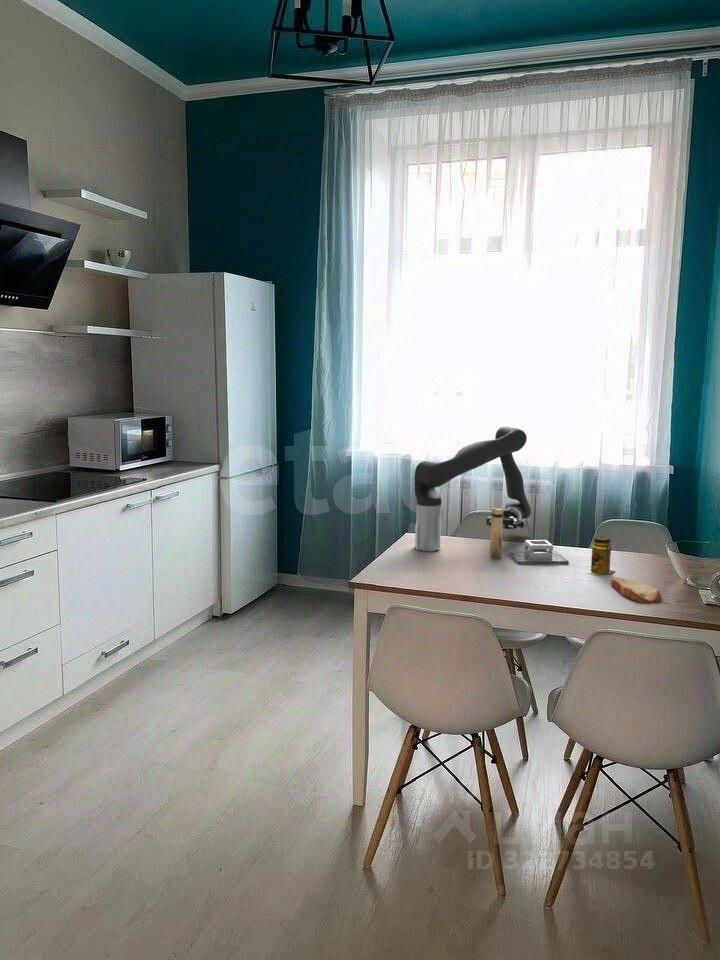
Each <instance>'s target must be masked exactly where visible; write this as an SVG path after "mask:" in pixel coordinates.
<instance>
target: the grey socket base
mask: <svg viewBox="0 0 720 960" xmlns="http://www.w3.org/2000/svg"><path fill="white" fill-rule="evenodd" d="M523 548H524V550H522V551H520V550H519V551H518V550H517V551H514V550H512V551H510V550H509V551H508V556H509V557H510V558H511V557H512V558H513V559H514V560H513V559H512V560H513V561H514V562H515V561H516V562H515V563H516V565H550V564H570V563H569V562H570V561H569V560H568V559H567V558H565V557H564V556H563V555H562V554H561V553H560V552H558V551H554V545H553V544H552V543H551V542H549V541H548V540H547V539H525V540H524V547H523Z"/></svg>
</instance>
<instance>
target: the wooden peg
mask: <svg viewBox="0 0 720 960" xmlns="http://www.w3.org/2000/svg"><path fill="white" fill-rule="evenodd" d="M503 511H504V509H503V508H499V507H493V508H491V513H490V516H492V517H491V527H490V545H489V546H490V547H489V559H491V558H493V559H492V560H501V559H502V545H503V542H502V541H503V527H502V525H503V515H504V513H503Z"/></svg>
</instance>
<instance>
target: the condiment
mask: <svg viewBox="0 0 720 960" xmlns="http://www.w3.org/2000/svg"><path fill="white" fill-rule="evenodd" d="M611 553H612V548H611V539H610V538H608V537H604V536H597V537H594V538H593V544H592V547H591V560H590V561H591V563H590V571H591V572H592V573H594V574H593V575H595V574H598V575H597V576H603V577H610V576H612V575H613V574H614V573H615V572H616V570H613V569H612V570H611ZM609 572H610V573H609ZM589 574H591V573H589ZM591 575H592V574H591Z"/></svg>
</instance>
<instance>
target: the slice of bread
mask: <svg viewBox="0 0 720 960" xmlns="http://www.w3.org/2000/svg"><path fill="white" fill-rule="evenodd" d="M610 584H611V585H610ZM609 585H610V586H611V588H613V589H614V590H615V591H616V592H617V593H619V594H620V595H622V596H623V597H625V596H626V598H627V599H629V598H630V599H629V600H631V601H634V602H637V603H640V604H645V603H646V604H647V605H652V604H651V603H653V604H657V603H660V602H659V601H660V600H662V595H661V592H660V590H659V589H658V588H657V587H655V586H652V585H650V584H646V583H643V582H639V581H637V580H636V581H635V580H630V579H626V578H619V577H612V579H611V580H610V583H609Z"/></svg>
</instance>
